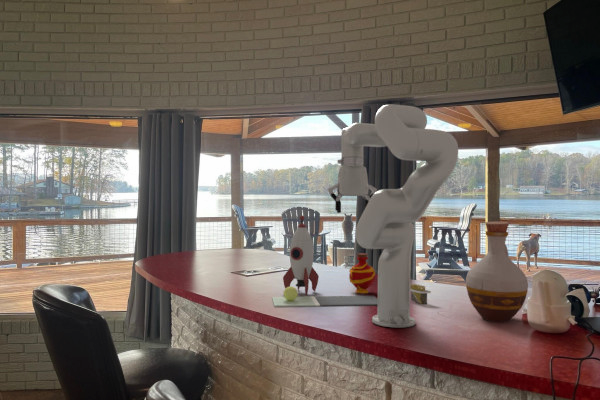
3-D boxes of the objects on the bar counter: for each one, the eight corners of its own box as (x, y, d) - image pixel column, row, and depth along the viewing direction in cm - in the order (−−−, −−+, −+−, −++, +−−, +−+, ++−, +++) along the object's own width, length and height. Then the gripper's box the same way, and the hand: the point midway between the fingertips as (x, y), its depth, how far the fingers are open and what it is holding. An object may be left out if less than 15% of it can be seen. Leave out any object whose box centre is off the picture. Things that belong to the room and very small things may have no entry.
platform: (422, 310, 161) (422, 291, 161) (387, 300, 177) (387, 282, 177) (448, 306, 167) (448, 288, 167) (412, 297, 182) (412, 280, 182)
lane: (384, 305, 166) (384, 303, 166) (274, 306, 162) (274, 305, 162) (373, 297, 180) (373, 295, 180) (272, 298, 176) (272, 296, 176)
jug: (478, 308, 163) (479, 219, 163) (535, 317, 152) (537, 221, 151) (456, 319, 148) (457, 221, 148) (518, 329, 136) (519, 224, 136)
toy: (282, 293, 185) (283, 215, 185) (295, 289, 194) (296, 214, 194) (308, 296, 180) (308, 216, 180) (320, 291, 189) (321, 215, 189)
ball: (298, 302, 167) (298, 287, 167) (283, 302, 167) (284, 287, 167) (296, 299, 172) (297, 285, 172) (282, 299, 172) (283, 285, 172)
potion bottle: (374, 295, 184) (375, 255, 184) (347, 293, 186) (347, 254, 186) (375, 290, 194) (376, 252, 194) (350, 288, 196) (350, 252, 196)
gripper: (330, 161, 162) (330, 212, 161) (379, 162, 164) (380, 212, 164) (325, 164, 169) (325, 212, 169) (373, 164, 172) (373, 212, 171)
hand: (352, 212), depth 166 cm, fingers open, 9 cm apart
